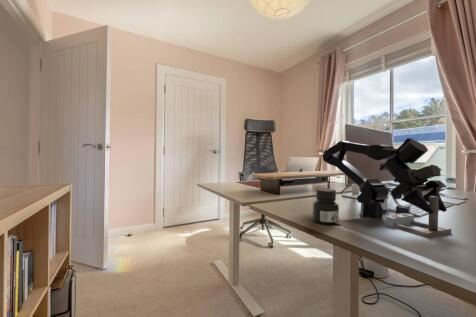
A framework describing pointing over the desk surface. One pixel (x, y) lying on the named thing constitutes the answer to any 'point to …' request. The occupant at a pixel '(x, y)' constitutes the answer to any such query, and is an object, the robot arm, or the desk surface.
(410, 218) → the gauge cabinet
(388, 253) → the desk surface
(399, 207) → the watch
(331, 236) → the desk surface
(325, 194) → the ink bottle
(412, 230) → the open grey box
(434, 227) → the grey cylinder
